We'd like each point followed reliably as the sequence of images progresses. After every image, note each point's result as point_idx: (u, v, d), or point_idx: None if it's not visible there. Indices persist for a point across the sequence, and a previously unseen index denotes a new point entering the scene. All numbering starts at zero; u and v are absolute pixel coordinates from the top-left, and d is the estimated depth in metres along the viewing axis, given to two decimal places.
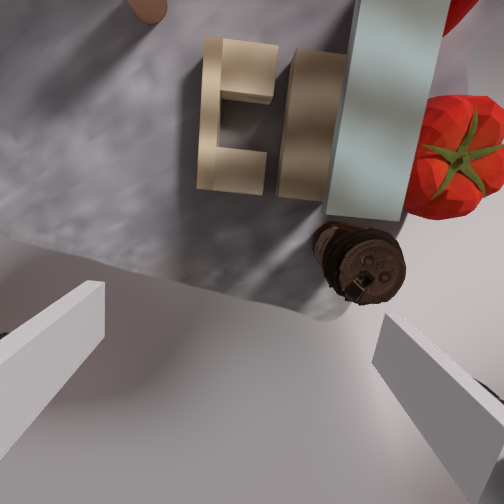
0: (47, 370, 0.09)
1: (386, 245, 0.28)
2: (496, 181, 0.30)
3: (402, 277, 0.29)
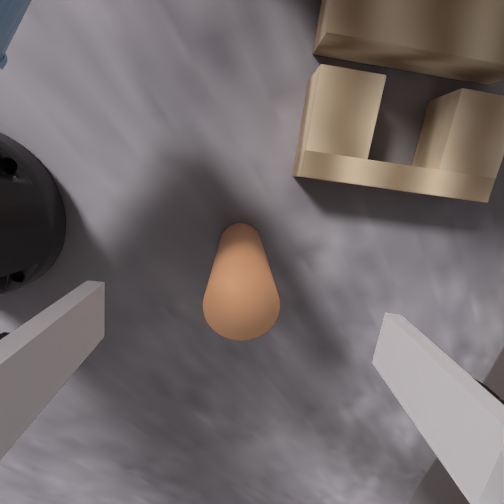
0: (47, 370, 0.09)
1: None
2: None
3: None
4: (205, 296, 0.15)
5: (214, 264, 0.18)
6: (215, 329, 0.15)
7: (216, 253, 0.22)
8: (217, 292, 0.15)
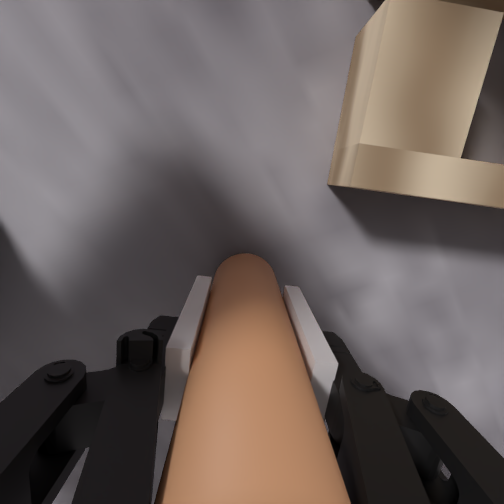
0: None
1: None
2: None
3: None
4: None
5: (191, 376, 0.08)
6: None
7: None
8: None
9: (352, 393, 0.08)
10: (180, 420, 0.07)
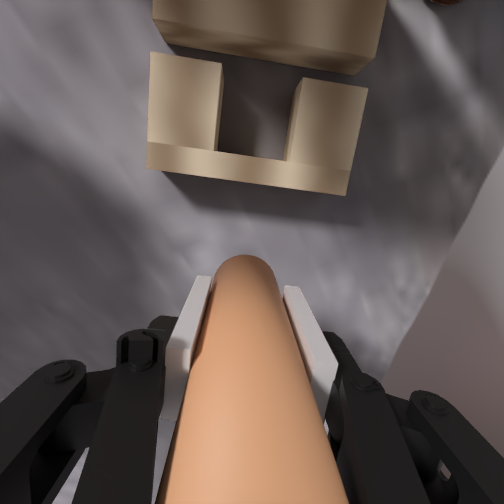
0: None
1: None
2: None
3: None
4: None
5: (190, 380, 0.08)
6: None
7: (202, 323, 0.12)
8: None
9: (352, 393, 0.08)
10: (179, 425, 0.07)
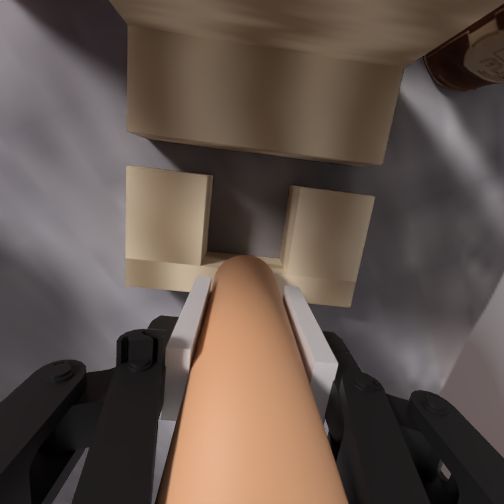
0: None
1: None
2: None
3: None
4: None
5: (190, 380, 0.08)
6: None
7: (202, 323, 0.12)
8: None
9: (352, 393, 0.08)
10: (179, 425, 0.07)
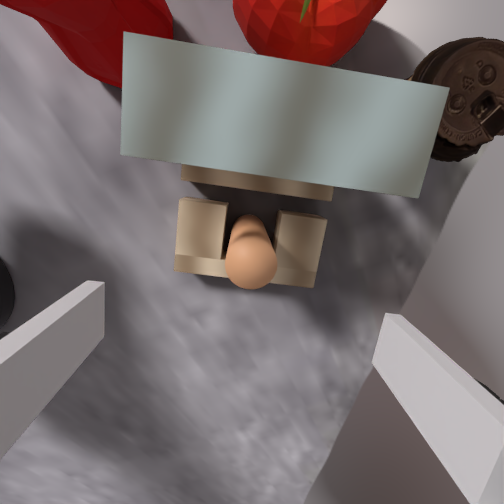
0: (47, 370, 0.09)
1: (440, 74, 0.20)
2: None
3: (495, 44, 0.20)
4: (226, 257, 0.22)
5: (231, 239, 0.25)
6: (233, 280, 0.22)
7: (231, 235, 0.29)
8: (235, 254, 0.22)
9: None
10: (230, 243, 0.24)
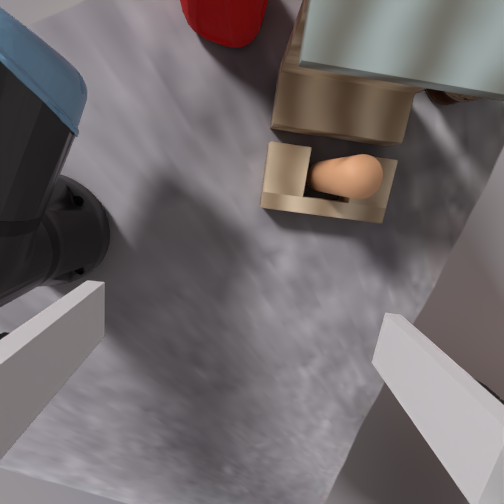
0: (46, 370, 0.09)
1: None
2: None
3: None
4: (341, 170, 0.26)
5: (331, 165, 0.30)
6: (345, 191, 0.27)
7: (319, 170, 0.34)
8: (348, 168, 0.26)
9: None
10: (336, 165, 0.28)
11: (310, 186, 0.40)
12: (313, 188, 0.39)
